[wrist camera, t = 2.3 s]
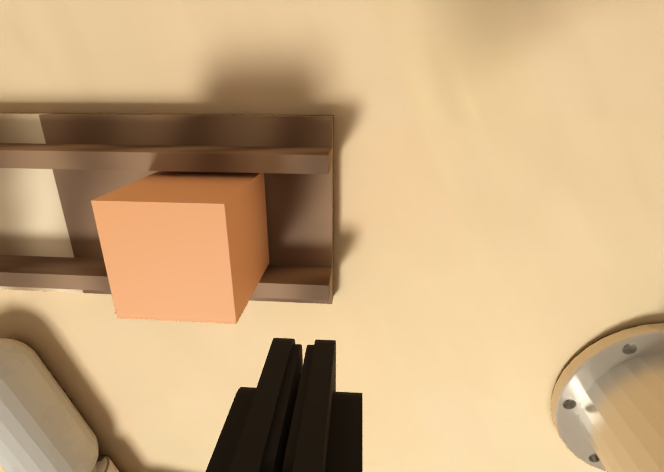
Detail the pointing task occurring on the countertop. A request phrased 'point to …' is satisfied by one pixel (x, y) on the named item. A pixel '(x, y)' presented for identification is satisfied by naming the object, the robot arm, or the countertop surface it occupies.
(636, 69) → the countertop surface
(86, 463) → the gun
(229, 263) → the block
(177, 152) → the chute
